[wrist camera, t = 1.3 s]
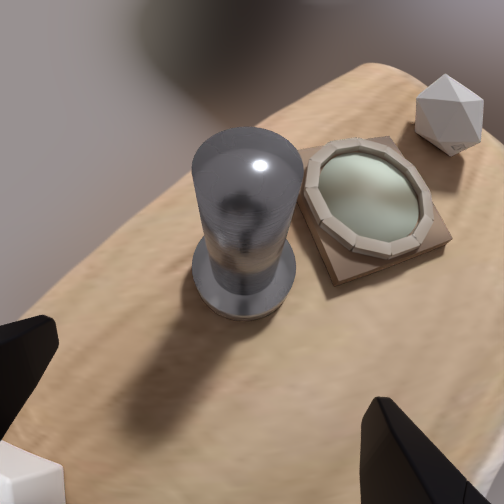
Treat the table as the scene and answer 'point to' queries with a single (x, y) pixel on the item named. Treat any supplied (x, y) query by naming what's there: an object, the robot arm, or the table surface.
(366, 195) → the board
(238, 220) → the silver round peg
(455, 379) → the table surface
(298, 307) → the table surface
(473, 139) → the die
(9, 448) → the medicine bottle
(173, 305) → the table surface
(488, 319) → the table surface
